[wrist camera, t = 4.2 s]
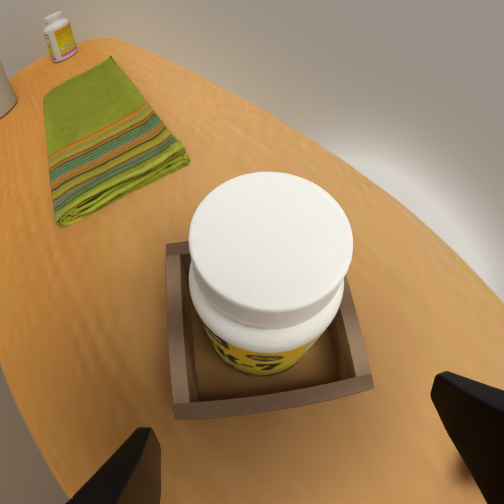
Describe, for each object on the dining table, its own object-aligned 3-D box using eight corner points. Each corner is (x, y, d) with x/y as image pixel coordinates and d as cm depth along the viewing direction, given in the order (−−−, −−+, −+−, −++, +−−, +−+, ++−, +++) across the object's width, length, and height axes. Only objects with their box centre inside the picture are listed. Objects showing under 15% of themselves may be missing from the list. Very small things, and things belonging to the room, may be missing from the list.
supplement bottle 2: (191, 343, 22) (130, 255, 11) (244, 268, 25) (239, 139, 14) (279, 397, 20) (316, 369, 9) (327, 313, 23) (391, 206, 12)
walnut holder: (356, 393, 20) (374, 388, 17) (186, 419, 19) (174, 419, 16) (321, 249, 26) (330, 225, 23) (176, 267, 25) (166, 243, 22)
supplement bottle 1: (82, 48, 55) (70, 6, 44) (70, 59, 51) (56, 14, 40) (61, 54, 55) (49, 14, 44) (48, 66, 51) (34, 23, 40)
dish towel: (63, 236, 27) (48, 217, 24) (44, 102, 42) (38, 88, 40) (194, 168, 31) (190, 144, 28) (117, 66, 46) (113, 52, 44)
